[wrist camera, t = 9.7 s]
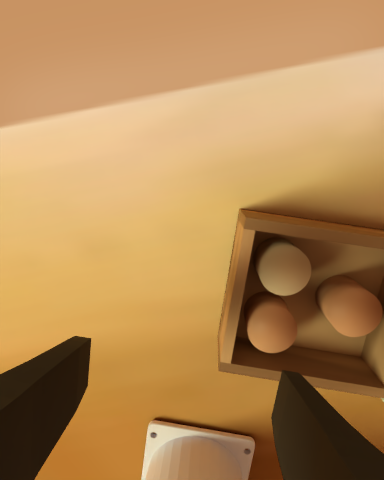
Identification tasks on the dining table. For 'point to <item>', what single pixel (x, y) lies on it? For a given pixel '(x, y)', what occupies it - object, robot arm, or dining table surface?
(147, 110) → the dining table surface
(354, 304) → the crate
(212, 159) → the dining table surface
